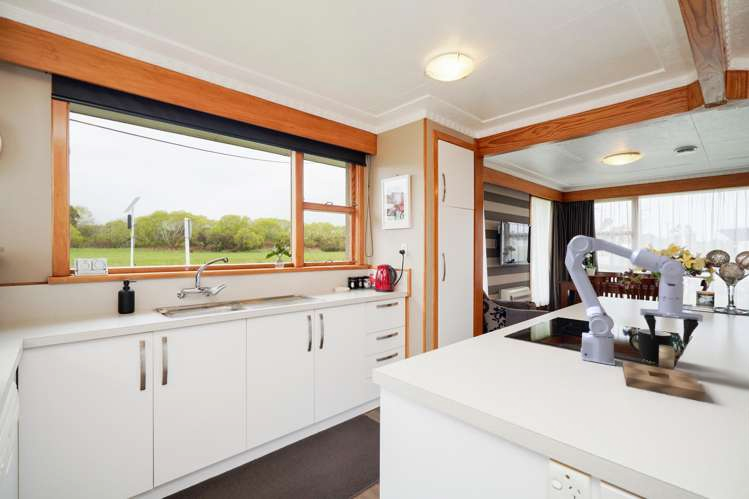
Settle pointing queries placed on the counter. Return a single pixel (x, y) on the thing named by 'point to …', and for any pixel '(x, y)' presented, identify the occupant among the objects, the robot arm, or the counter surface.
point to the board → (663, 381)
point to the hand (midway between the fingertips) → (668, 341)
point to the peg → (666, 357)
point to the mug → (650, 343)
